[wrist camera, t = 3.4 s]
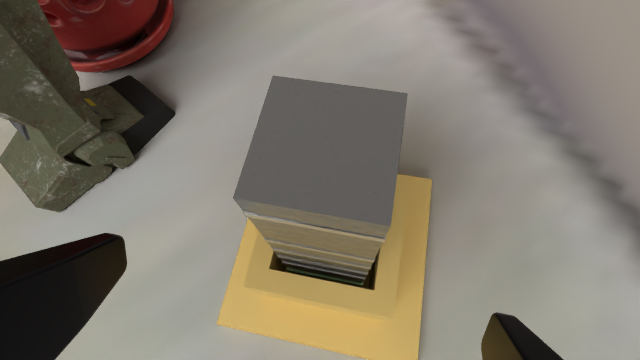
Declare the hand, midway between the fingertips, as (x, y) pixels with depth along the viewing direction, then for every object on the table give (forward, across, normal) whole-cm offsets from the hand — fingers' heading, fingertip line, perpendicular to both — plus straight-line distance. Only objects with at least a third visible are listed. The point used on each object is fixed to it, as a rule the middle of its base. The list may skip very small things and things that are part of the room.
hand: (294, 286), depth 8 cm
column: (+11, 0, +6) cm, 12 cm away
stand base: (+12, 0, +6) cm, 13 cm away
